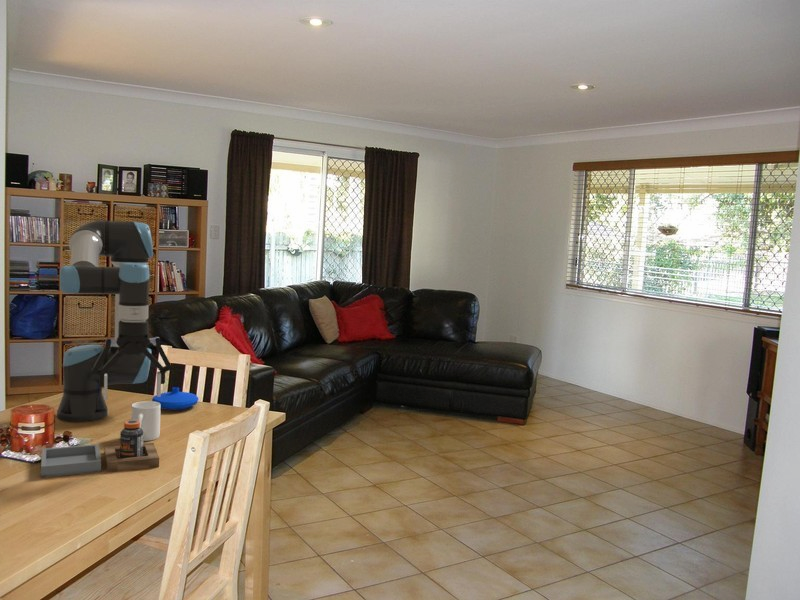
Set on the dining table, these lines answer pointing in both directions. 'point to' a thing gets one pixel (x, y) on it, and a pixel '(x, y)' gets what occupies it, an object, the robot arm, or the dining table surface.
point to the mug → (147, 418)
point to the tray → (70, 460)
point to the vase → (176, 399)
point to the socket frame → (131, 459)
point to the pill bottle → (131, 440)
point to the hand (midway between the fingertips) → (132, 397)
